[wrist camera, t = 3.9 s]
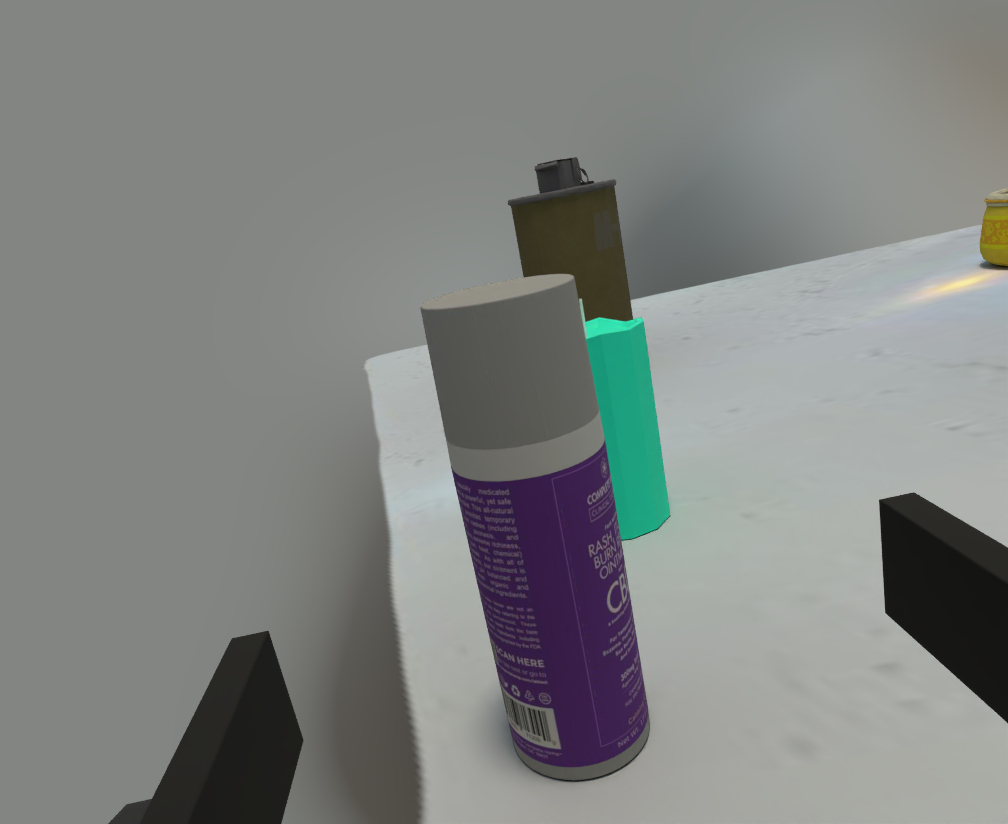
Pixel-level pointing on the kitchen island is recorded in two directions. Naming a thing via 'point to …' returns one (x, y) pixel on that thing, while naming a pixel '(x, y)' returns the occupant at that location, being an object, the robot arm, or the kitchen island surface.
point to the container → (541, 520)
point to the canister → (575, 237)
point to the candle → (628, 422)
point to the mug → (995, 229)
